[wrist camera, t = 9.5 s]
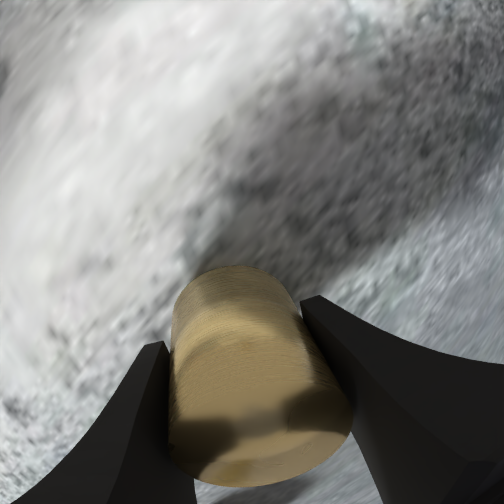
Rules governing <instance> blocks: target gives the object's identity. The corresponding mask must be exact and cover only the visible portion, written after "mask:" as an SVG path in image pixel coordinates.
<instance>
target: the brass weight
mask: <svg viewBox="0 0 504 504" xmlns="http://www.w3.org/2000/svg"><path fill="white" fill-rule="evenodd" d="M353 418H354V416H353V410H352V408H351V405H350V403H349V401H348V399H347V398H346V396H345V394H344V392H343V390H342V389H341V387H340V385H339V383H338V381H337V380H336V378H335V376H334V374H333V372H332V371H331V369H330V367H329V365H328V363H327V362H326V360H325V358H324V356H323V354H322V353H321V351H320V349H319V347H318V345H317V344H316V342H315V340H314V338H313V336H312V335H311V333H310V331H309V329H308V328H307V326H306V324H305V322H304V320H303V319H302V317H301V315H300V313H299V312H298V310H297V308H296V306H295V304H294V303H293V301H292V299H291V297H290V296H289V294H288V292H287V290H286V289H285V288H284V286H283V285H282V284H281V283H280V282H279V281H278V280H277V279H276V278H275V277H273V276H272V275H270V274H268V273H267V272H265V271H262V270H260V269H257V268H253V267H248V266H225V267H221V268H216V269H213V270H211V271H208V272H206V273H204V274H202V275H200V276H199V277H197V278H196V279H194V280H193V281H192V282H191V283H189V284H188V285H187V286H186V287H185V289H184V290H183V291H182V292H181V294H180V295H179V297H178V299H177V301H176V303H175V306H174V309H173V316H172V329H171V348H170V370H169V407H168V449H169V454H170V456H171V458H172V461H173V462H174V463H175V465H176V466H177V467H178V468H179V469H180V470H181V471H183V472H184V473H186V474H187V475H189V476H191V477H193V478H195V479H197V480H200V481H202V482H206V483H209V484H213V485H219V486H226V487H254V486H262V485H268V484H273V483H277V482H281V481H284V480H287V479H290V478H293V477H296V476H298V475H301V474H303V473H305V472H307V471H309V470H311V469H313V468H314V467H316V466H318V465H319V464H321V463H322V462H324V461H325V460H326V459H328V458H329V457H330V456H332V455H333V454H334V453H335V452H336V451H337V450H338V449H339V448H340V447H341V445H342V444H343V443H344V442H345V440H346V439H347V437H348V435H349V433H350V431H351V429H352V425H353Z"/></svg>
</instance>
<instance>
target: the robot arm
mask: <svg viewBox="0 0 504 504" xmlns="http://www.w3.org/2000/svg"><path fill="white" fill-rule="evenodd" d="M300 306H301V311H302V317H303V320H304V322H305V324H306V326H307V328H308V329H309V331H310V333H311V335H312V336H313V338H314V340H315V342H316V344H317V345H318V347H319V349H320V351H321V353H322V354H323V356H324V358H325V360H326V362H327V363H328V365H329V367H330V369H331V371H332V372H333V374H334V376H335V378H336V380H337V381H338V383H339V385H340V387H341V389H342V390H343V392H344V394H345V396H346V398H347V399H348V401H349V403H350V405H351V408H352V410H353V416H354V418H353V425H352V429H351V432H352V434H353V436H354V438H355V440H356V442H357V443H358V445H359V447H360V450H361V452H362V454H363V456H364V459H365V461H366V463H367V465H368V468H369V470H370V472H371V475H372V477H373V480H374V482H375V484H376V487H377V489H378V491H379V494H380V496H381V499H382V501H383V504H504V364H497V363H488V362H482V361H476V360H471V359H466V358H462V357H458V356H453V355H449V354H445V353H442V352H438V351H435V350H432V349H429V348H426V347H423V346H420V345H417V344H414V343H411V342H409V341H406V340H404V339H401V338H399V337H397V336H395V335H392V334H390V333H388V332H386V331H383V330H381V329H379V328H377V327H375V326H373V325H371V324H369V323H368V322H366V321H364V320H362V319H360V318H358V317H356V316H355V315H353V314H351V313H349V312H348V311H346V310H344V309H343V308H341V307H339V306H337V305H336V304H334V303H332V302H331V301H329V300H327V299H326V298H324V297H322V296H321V295H318V296H315V297H312V298H309V299H305V300H302V301H300ZM169 370H170V353H169V351H168V349H167V347H166V345H165V343H164V341H159V342H155V343H151V344H147V345H144V346H143V348H142V349H141V351H140V352H139V354H138V356H137V357H136V359H135V360H134V362H133V364H132V365H131V367H130V369H129V370H128V372H127V374H126V375H125V377H124V378H123V380H122V382H121V383H120V385H119V386H118V388H117V390H116V391H115V393H114V394H113V396H112V397H111V399H110V400H109V402H108V403H107V405H106V406H105V407H104V409H103V410H102V412H101V413H100V415H99V416H98V418H97V419H96V421H95V422H94V423H93V425H92V426H91V427H90V429H89V430H88V431H87V432H86V434H85V435H84V436H83V437H82V438H81V440H80V441H79V442H78V443H77V444H76V446H75V447H74V448H73V449H72V450H71V451H70V452H69V453H68V454H67V455H66V456H65V457H64V458H63V459H62V461H61V462H60V463H59V464H58V465H57V466H56V467H55V468H54V469H53V470H52V471H51V472H50V473H49V474H47V475H46V476H45V477H44V478H43V479H42V480H41V481H40V482H38V483H37V484H36V485H35V486H34V487H32V488H31V489H30V490H29V491H27V492H26V493H25V494H23V495H22V496H21V497H19V498H18V499H17V500H15V501H14V502H12V503H11V504H197V500H196V494H195V487H194V478H193V477H191V476H189V475H187V474H186V473H184V472H183V471H181V470H180V469H179V468H178V467H177V466H176V465H175V463H174V462H173V461H172V458H171V456H170V454H169V449H168V407H169Z"/></svg>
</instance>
